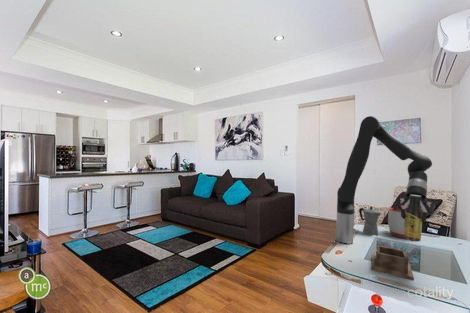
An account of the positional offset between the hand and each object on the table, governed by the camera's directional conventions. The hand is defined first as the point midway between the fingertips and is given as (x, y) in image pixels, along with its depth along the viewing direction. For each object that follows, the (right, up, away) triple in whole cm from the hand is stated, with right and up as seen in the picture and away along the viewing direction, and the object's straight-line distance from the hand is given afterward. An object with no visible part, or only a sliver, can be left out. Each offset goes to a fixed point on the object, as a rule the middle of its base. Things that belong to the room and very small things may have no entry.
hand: (413, 219), depth 100 cm
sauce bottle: (+1, -10, +1) cm, 10 cm away
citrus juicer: (+32, -25, +52) cm, 66 cm away
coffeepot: (+13, -24, +55) cm, 61 cm away
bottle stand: (-6, -24, +5) cm, 25 cm away
